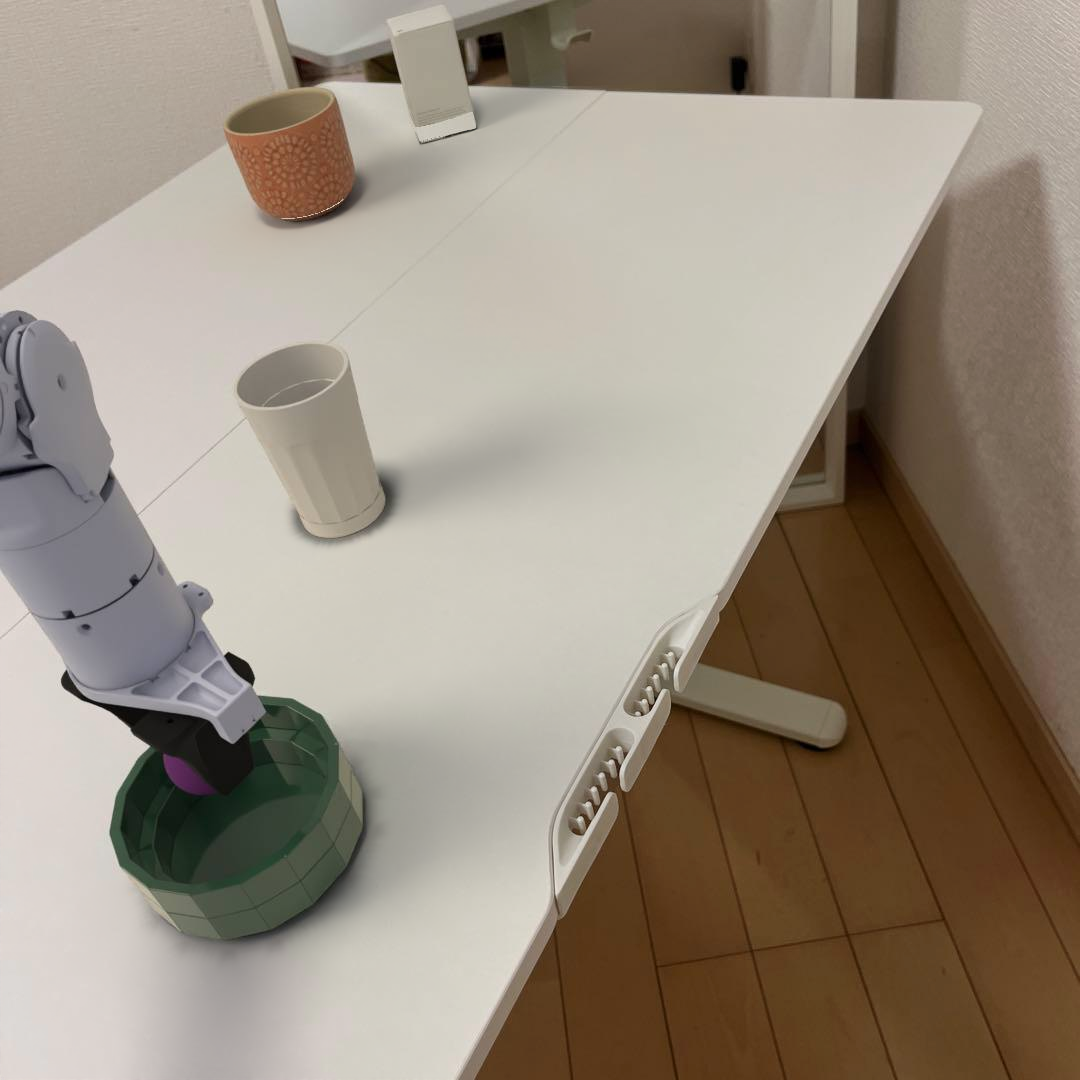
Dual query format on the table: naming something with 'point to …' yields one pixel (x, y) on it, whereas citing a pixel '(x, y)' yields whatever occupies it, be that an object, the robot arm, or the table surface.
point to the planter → (292, 152)
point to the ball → (185, 777)
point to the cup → (313, 434)
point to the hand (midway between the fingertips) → (209, 762)
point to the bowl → (243, 830)
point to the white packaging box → (430, 65)
